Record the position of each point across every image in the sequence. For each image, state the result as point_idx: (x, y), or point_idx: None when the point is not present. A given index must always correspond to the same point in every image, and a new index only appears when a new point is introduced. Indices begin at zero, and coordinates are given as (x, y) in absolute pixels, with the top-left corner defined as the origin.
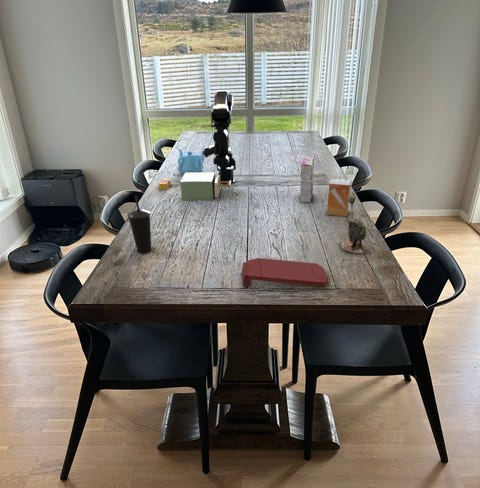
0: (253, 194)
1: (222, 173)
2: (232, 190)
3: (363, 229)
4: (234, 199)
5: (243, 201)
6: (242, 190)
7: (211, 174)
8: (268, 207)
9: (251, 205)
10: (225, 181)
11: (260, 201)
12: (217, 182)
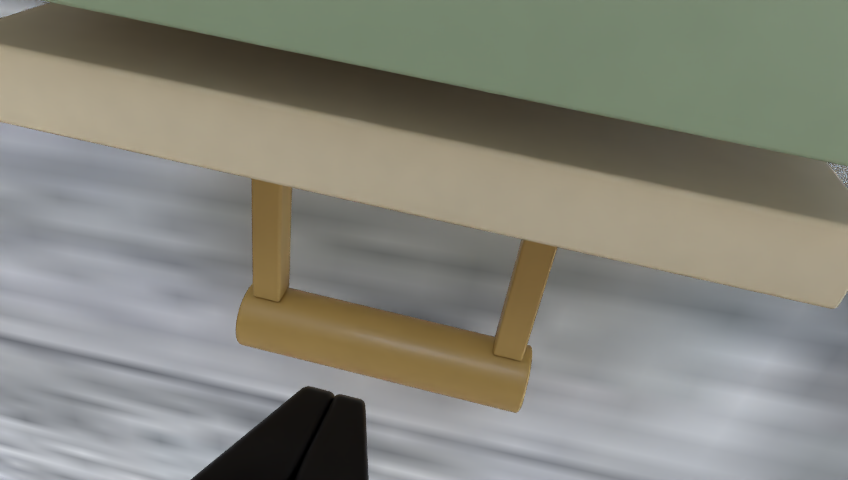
0: (391, 469)
1: (261, 435)
2: (634, 296)
3: None
4: (218, 249)
5: (152, 329)
6: (583, 410)
7: (754, 12)
8: (21, 470)
9: (40, 369)
10: (527, 313)
11: (166, 463)
12: (91, 130)
